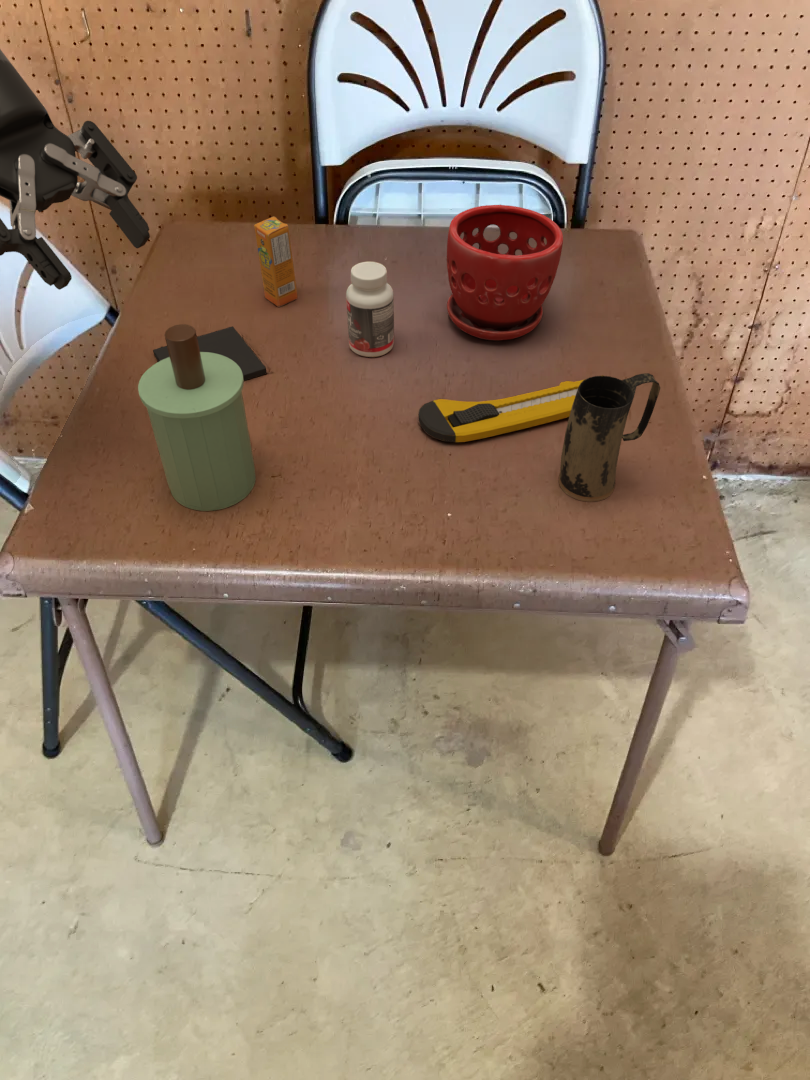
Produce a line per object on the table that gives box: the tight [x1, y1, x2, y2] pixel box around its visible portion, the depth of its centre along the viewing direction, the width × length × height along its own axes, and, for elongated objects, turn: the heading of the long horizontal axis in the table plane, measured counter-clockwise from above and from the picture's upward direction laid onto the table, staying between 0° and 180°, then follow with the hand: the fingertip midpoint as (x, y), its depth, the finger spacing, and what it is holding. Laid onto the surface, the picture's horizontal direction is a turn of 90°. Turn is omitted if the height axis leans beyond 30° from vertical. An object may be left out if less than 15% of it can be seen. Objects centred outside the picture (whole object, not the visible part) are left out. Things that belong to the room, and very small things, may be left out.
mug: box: [558, 372, 661, 503], centre depth 79 cm, size 8×6×12 cm
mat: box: [152, 326, 268, 382], centre depth 97 cm, size 10×10×1 cm
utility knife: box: [418, 374, 605, 443], centre depth 91 cm, size 7×22×2 cm, turn 111°
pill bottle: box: [345, 261, 395, 358], centre depth 96 cm, size 5×5×10 cm
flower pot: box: [446, 204, 564, 341], centre depth 99 cm, size 13×13×12 cm
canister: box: [146, 390, 257, 512], centre depth 79 cm, size 8×8×12 cm
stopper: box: [137, 323, 245, 419], centre depth 73 cm, size 9×9×6 cm
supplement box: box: [253, 216, 299, 308], centre depth 103 cm, size 3×3×10 cm
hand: (106, 262), depth 71 cm, fingers open, 8 cm apart
